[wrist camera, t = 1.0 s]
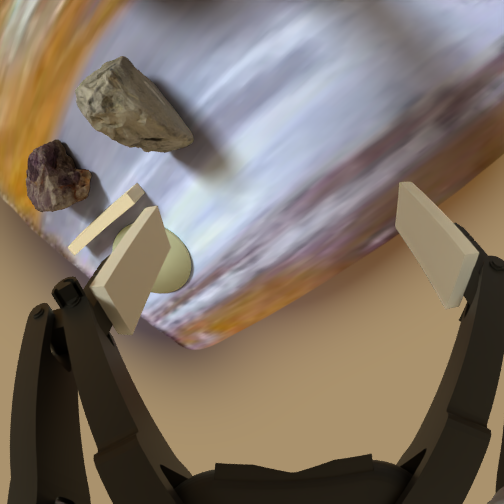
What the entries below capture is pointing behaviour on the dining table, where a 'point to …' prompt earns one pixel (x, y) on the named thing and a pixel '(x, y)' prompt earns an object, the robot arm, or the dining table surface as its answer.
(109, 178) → the dining table surface
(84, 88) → the decorative rock
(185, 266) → the felt pad
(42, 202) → the rock
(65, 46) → the dining table surface
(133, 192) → the rail
